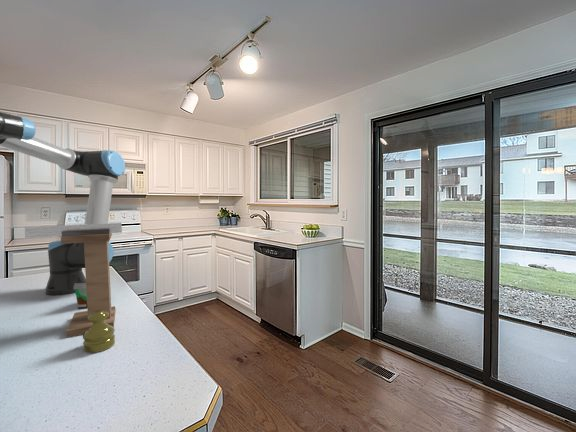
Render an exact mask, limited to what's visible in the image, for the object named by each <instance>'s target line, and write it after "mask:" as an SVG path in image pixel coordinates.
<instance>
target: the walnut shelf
mask: <svg viewBox="0 0 576 432" xmlns="http://www.w3.org/2000/svg"><path fill="white" fill-rule="evenodd" d="M61 233H62V236H60V240H61V244H69V243H84V255H85V268H84V272H85V273H84V274H85V278H86V291H87V308H86V309H87V310H83V311H78V312H74V314H73V316H72V318H71V320H70V322H69V324H68V326H67V329H66V330H65V332H66V339H67V338H72V337H78V336H83V334H84V332H85V331H87V330H88V329H89V328H90V327H91V326H92V325H93V323H92V322H91V321H89V320H88V319H87V317H88V316H89V315H90V314H92V313H94V312H95V311H98V310H101V311H105V312H108V313H109V315H108V317H106V318H105V320H104V322H105V323H106V324H108V325H111V326H113V327H114V328H115V319H116V306H112V293H111V276H110V275H111V274H110V273H111V270H110V262H109V249H108V241H109V242H110V241H111V238H112V234H113V233H110V232H109V229H96V230H76V231H62V232H61Z"/></svg>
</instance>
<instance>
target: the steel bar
mask: <svg viewBox="0 0 576 432" xmlns="http://www.w3.org/2000/svg"><path fill="white" fill-rule="evenodd" d="M122 225H123V224H122V222H108V223H103V224H85V223H84V224H83V223H81V224H60V225H58V224H57V225H38V226H37V225H35V226H34V225H33V226H26V227H25V226H24V235H25V236H24V237H25V239H31V238H47V237H48V238H49V237H50V238H51V237H62V233H61V232H62V231H76V230H96V229H109V232H110V233H112V234H117V233H119V234H121V233H122V232H123V227H122Z"/></svg>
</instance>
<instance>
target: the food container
mask: <svg viewBox="0 0 576 432" xmlns="http://www.w3.org/2000/svg"><path fill="white" fill-rule="evenodd" d="M73 289H75V292H74V293H75V296H76V302H77V303H76V304H77V309H78V310H85V309H87V291H86V282H84V283H74V288H73Z"/></svg>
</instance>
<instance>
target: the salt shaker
mask: <svg viewBox="0 0 576 432" xmlns="http://www.w3.org/2000/svg"><path fill="white" fill-rule="evenodd" d="M108 315H109V313H108V312H105V311H101V310H98V311H95V312H94V313H92V314H90V315H89V316H88V317H87V319H88V320H89V321H91V322H92V323H93V325H92V326H91V327H90V328H89V329H88V330H87V331H85V332H84V334H83V335H82V339H83V342H82V344H83V351H84V353H89V354H91V353H92V354H93V353H99V352H103V351H105V350H108V349H111V347H113V346H114V345H115V343H116V335H115V334H114V333H115V326H114V327H113V326H111V325H108V324H106V323H105V322H104V320H105V318H106V317H108Z"/></svg>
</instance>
